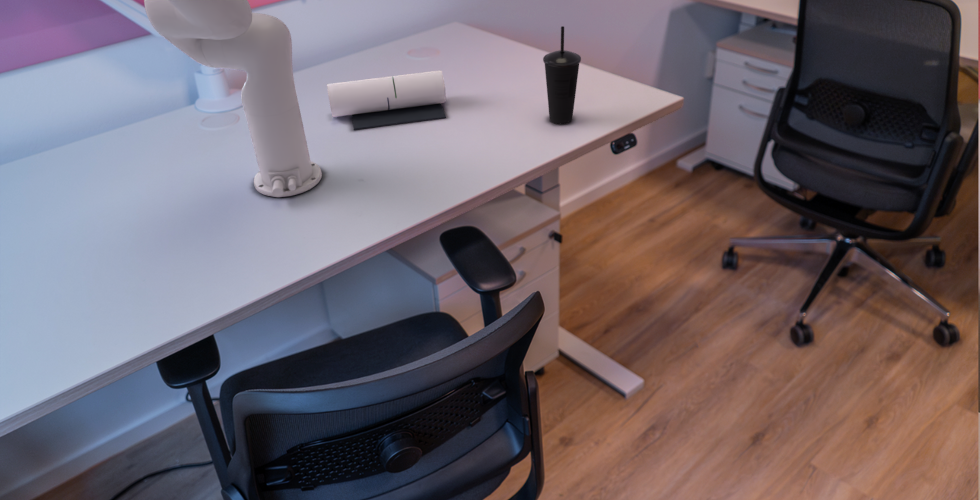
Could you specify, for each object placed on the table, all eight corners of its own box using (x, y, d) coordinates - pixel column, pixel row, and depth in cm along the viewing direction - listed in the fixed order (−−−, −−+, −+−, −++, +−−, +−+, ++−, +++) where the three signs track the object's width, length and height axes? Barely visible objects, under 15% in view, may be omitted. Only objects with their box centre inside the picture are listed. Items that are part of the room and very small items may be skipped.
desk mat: (446, 118, 158) (446, 116, 158) (353, 130, 155) (353, 128, 155) (433, 86, 172) (433, 84, 172) (348, 96, 169) (348, 95, 169)
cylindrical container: (441, 93, 167) (331, 107, 163) (439, 64, 162) (326, 78, 159) (446, 108, 162) (333, 123, 158) (444, 79, 157) (327, 93, 153)
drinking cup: (578, 111, 158) (582, 20, 146) (579, 127, 152) (582, 33, 140) (543, 111, 159) (543, 20, 147) (542, 127, 152) (542, 33, 141)
